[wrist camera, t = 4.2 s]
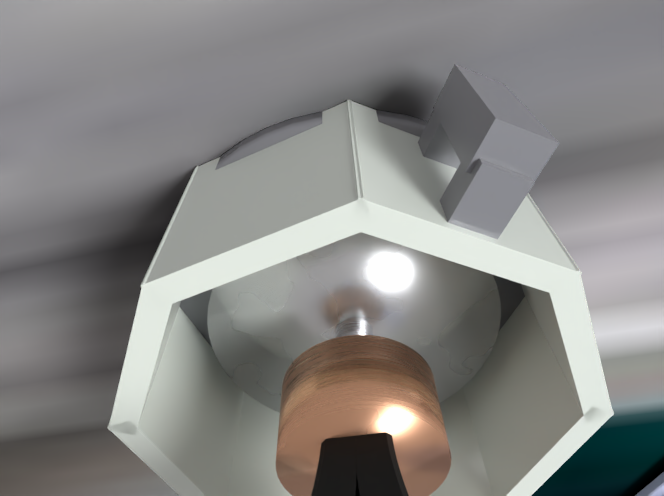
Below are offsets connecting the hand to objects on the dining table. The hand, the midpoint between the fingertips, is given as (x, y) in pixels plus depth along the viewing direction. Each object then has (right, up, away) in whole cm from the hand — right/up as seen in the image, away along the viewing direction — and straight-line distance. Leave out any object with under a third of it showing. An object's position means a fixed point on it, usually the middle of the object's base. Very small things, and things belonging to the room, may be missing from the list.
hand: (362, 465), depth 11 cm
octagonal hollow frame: (0, +3, +5) cm, 6 cm away
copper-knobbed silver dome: (0, +3, +4) cm, 5 cm away
